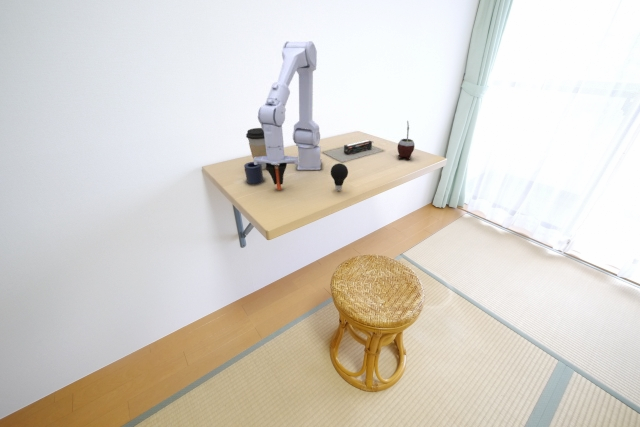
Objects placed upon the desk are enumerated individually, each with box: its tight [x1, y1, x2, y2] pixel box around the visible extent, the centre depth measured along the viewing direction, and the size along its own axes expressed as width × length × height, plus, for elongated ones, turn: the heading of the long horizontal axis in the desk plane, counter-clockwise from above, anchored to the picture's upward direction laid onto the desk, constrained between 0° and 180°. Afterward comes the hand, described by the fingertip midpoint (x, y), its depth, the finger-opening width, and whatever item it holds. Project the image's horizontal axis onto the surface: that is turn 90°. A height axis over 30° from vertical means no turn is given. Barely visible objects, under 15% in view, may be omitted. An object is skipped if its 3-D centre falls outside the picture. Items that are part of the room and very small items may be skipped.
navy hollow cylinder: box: [243, 161, 265, 186], centre depth 96 cm, size 6×6×6 cm
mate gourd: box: [396, 120, 415, 161], centre depth 113 cm, size 8×8×15 cm
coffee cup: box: [245, 127, 267, 170], centre depth 105 cm, size 9×9×15 cm
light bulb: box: [330, 162, 349, 192], centre depth 88 cm, size 6×6×10 cm
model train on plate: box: [323, 139, 383, 163], centre depth 123 cm, size 14×25×4 cm, turn 124°
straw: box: [275, 164, 282, 191], centre depth 89 cm, size 2×2×9 cm
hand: (278, 183), depth 90 cm, fingers closed on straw, 1 cm apart
